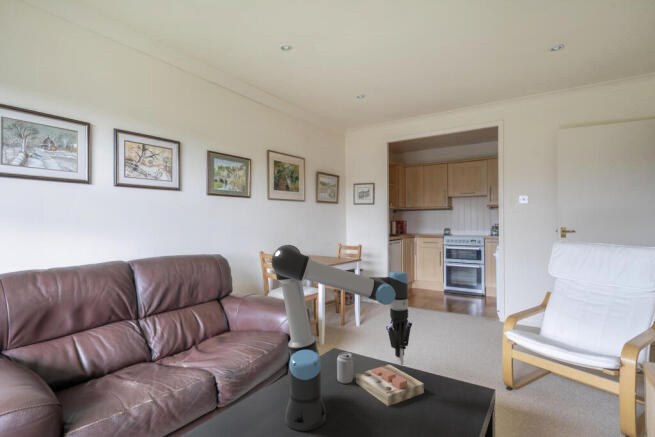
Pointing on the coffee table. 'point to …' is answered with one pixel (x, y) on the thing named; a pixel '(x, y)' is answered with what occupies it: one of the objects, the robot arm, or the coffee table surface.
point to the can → (345, 368)
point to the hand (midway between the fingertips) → (399, 363)
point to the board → (389, 386)
